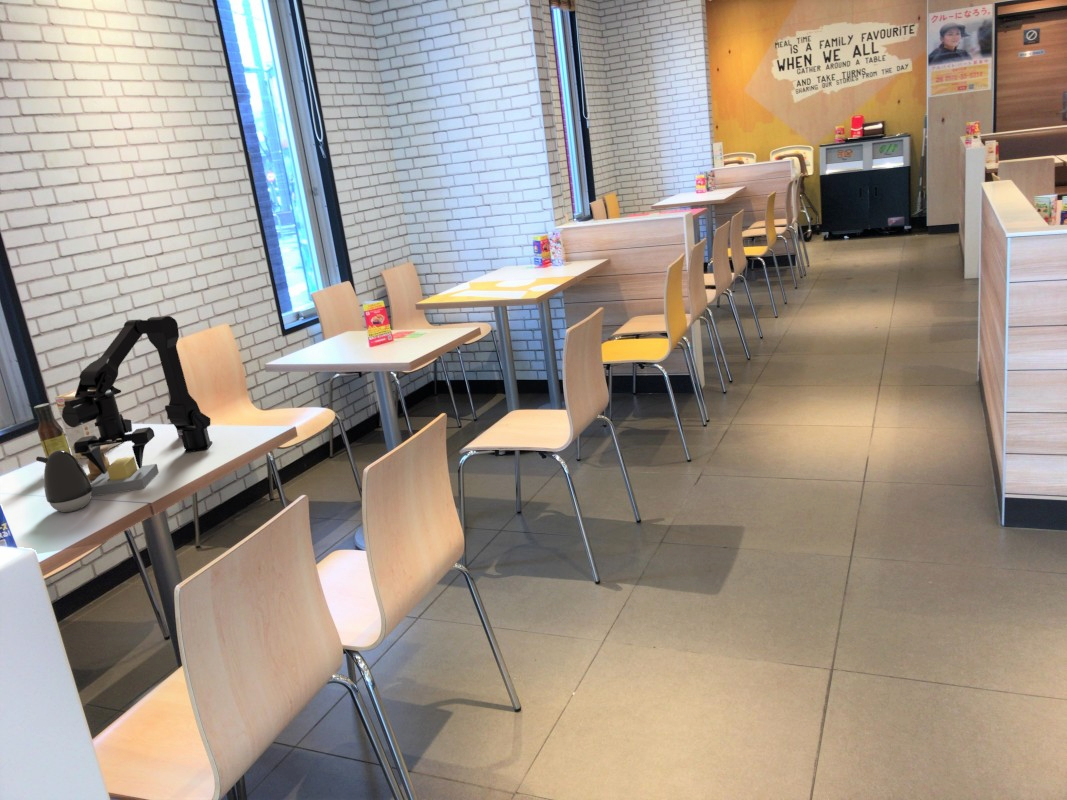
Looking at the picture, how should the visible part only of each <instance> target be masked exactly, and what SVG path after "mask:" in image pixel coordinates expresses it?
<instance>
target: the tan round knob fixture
mask: <svg viewBox="0 0 1067 800" xmlns="http://www.w3.org/2000/svg"><path fill="white" fill-rule="evenodd" d="M109 450H110V449H109V447H108V445H101V446H100V453H101V456H102V459H103V462H104V465H105V468H106V471H108V470H107V467H109V466H110V465H111V464H110V461H109V458H108V456H105V453H106V452H107V451H109ZM80 454H81V453H80ZM83 457H86V456H83ZM86 465H87V468H88V471H89V473H87V476H88V478H89V480H90V482H93V481H94V480H95V479H96V478H97V477H99V476H100V475H101V474H102V472H101V471H100V470H99V469H98V468H97V466H96V465H95V464H94V463H93V462H92V461H90V460H89V459H88V461H87V462H86Z"/></svg>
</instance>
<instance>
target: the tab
mask: <svg viewBox="0 0 1067 800" xmlns="http://www.w3.org/2000/svg"><path fill="white" fill-rule="evenodd" d="M107 470H108V474H109V477H110V481H111V480H118V479H124V478H130V477H131V476H132V475H133V474H134V473H135V472H136V471H137V470H138V465H137V462H136V459H135V456H128V457H122V458H116V459H115V460H114V461H113V462H112V463H111V464H110V466H109V467H107Z"/></svg>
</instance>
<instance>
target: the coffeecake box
mask: <svg viewBox="0 0 1067 800" xmlns="http://www.w3.org/2000/svg"><path fill="white" fill-rule="evenodd" d="M76 391H77V388H76V389H73V390H71V391H68V392H66V393H63V394H61V395H58V396H55V397H54V400H55V402H56V406H57V409H58V412H59V415H60V419H61V422H62V426H63V430H64V434H65V437H66V440H67V444H68V446H69V449H70V452H71V455H72V456H73V457H74V458H75V459H76V460H78V459H88V458H87V457H83V456H81V454H80V453H77V454H76V453H75V451H74V448H73V446H74V443H75V442H76V441H78V440H79V439H80V438H81V437H88V436H94V435H95V436H96V437H97V439H99V437H101V436H100V433H99V429H98V426H96V427H95V422H96V419H95V420H92V421H90V422H87V423H85V424H82V425H79V426H77V427H70V426H68V425H67V424H66V423H65V421H64V420H63V417H62V411H63V408H64V407H65V403H64V402H65V401H67V400H72V399H75V394H76ZM88 391H96V390H88ZM117 440H119V439H117ZM107 441H111V440H107ZM122 443H123V442H121V443H114V444H107V445H108V447H109V450H110V449H112V448H114V447H115V446H118V445H120V444H122Z"/></svg>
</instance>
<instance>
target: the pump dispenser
mask: <svg viewBox="0 0 1067 800" xmlns="http://www.w3.org/2000/svg"><path fill="white" fill-rule="evenodd" d="M35 460H36V462H41V463H43V464H45V465H44V472H43V485H44V495H45V499H46V501H47V502H48V503H49V505H50V506H51V507H52V508H53V509H54V510H55V511H58V512H62V513H69V512H70V513H72V512H75V511H78V510H81V509H83V508H84V507H85V506H87V505H88V504H89V502H90V500H91V498H92V496H91V494H92V492H91V491H92V485H91V483H92V482H91V481H90V480H89V478H88V476H87V475H88V473H87V472H86V471H85V469H84V468H83V466H82V465H81V464H80V462H79V461H78V459H75V458H74V457H73V456H72V453H71V454H70V453H69V452H67V451H64V450H57V451H54V452H52V453H51V454H50V455H49V457H48V458H46V456H45V457H44V456H36V458H35Z"/></svg>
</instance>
